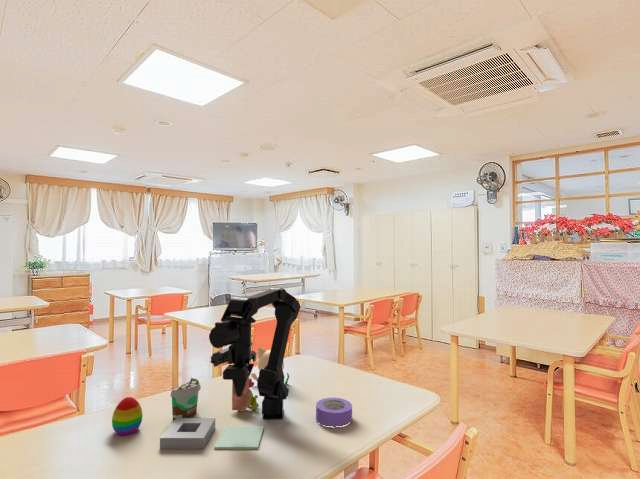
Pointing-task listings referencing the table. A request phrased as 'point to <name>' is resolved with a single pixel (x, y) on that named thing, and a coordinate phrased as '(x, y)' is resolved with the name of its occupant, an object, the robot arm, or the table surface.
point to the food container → (185, 399)
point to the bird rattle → (252, 399)
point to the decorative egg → (127, 416)
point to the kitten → (264, 362)
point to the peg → (242, 401)
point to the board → (240, 437)
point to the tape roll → (333, 412)
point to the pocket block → (188, 433)
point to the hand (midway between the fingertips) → (240, 393)
